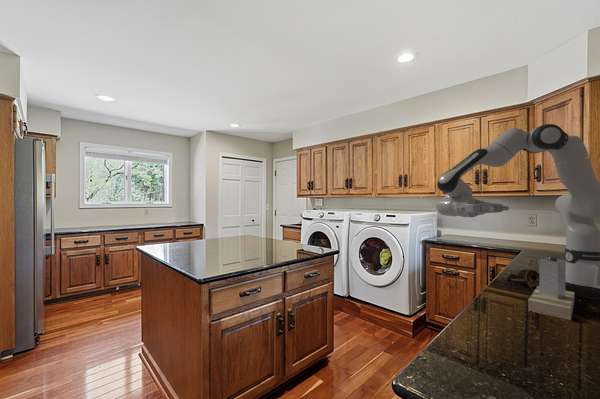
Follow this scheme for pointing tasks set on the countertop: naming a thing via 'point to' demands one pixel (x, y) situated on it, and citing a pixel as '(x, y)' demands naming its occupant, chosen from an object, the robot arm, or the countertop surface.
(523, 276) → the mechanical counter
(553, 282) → the aluminium block
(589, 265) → the robot arm
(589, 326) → the countertop surface
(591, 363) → the countertop surface
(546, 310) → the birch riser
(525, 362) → the countertop surface
